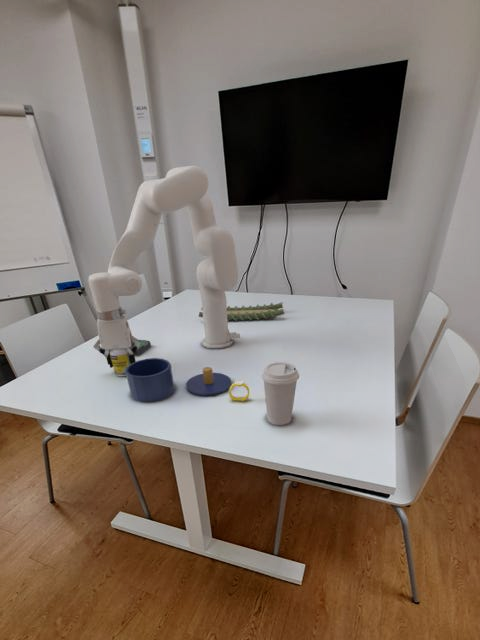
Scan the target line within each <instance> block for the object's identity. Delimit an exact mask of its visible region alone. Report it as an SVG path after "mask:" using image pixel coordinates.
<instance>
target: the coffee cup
mask: <svg viewBox="0 0 480 640" xmlns="http://www.w3.org/2000/svg"><path fill="white" fill-rule="evenodd" d="M260 377H261V379H262V381H263V389H264V397H265V408H266V417H267V418H266V419H267V422H269V423H270V424H272V425H274V426H285V425H288V424H289V423H290V422H291V421H292V417H293V410H294V402H295V395H296V390H297V381H298V380H299V379H300V374H299V371H298V370H297V367H296V365H294V364H292V363H290V362H285V361H278V362H277V361H275V362H271V363H269V364H267V365H266V366H265V367H264V369H263V370H262V373H261V375H260Z"/></svg>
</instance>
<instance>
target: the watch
mask: <svg viewBox="0 0 480 640" xmlns="http://www.w3.org/2000/svg"><path fill="white" fill-rule="evenodd" d="M233 387H237V388H240V387H243V388H245V389H246V391H247V394H246V396H244V397H235V396H234V395H233V394H232V391H231V390H232V388H233ZM228 395H229V397H230V399H232V400H233V401H238V402H244V401H247V399H248V398H249V396H250V387H249V386H248V385H247V384H246V383H245V382H244V380H242V379H241V380H239V379H238V380H234V383H231V386H230V387H229V388H228Z"/></svg>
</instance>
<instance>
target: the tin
mask: <svg viewBox="0 0 480 640" xmlns="http://www.w3.org/2000/svg"><path fill="white" fill-rule="evenodd" d="M125 372H126V376H125V377H126V380H127V384H128V389H129V393H130V396H131V398H132V399H134V400H135V401H137V402H141V403H153V402H160V401H162V400H165V399H167V398H169V397H170V396H171V395H173V393H174V392H175V381H174V375H173V370H172V364H171V362H170V361H169V360H167V359H164V358H158V357H153V358H144V359H140V360H136V362H134V363H131V364H130V365H129V366H127V368H126V370H125Z"/></svg>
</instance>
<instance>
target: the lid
mask: <svg viewBox="0 0 480 640" xmlns="http://www.w3.org/2000/svg"><path fill="white" fill-rule="evenodd" d="M231 385H232V379H231V378H230V377H229V376H228V375H226V374H224V373H222V372H213V368H212V367H211V366H205V367H203V368H202V373H200V374H196V375H194V376H192V377H190V378H189V379H188V380H187V381H186V384H185V386H186V387H185V388H186V389H187V390H188V391H189V392H190V393H191V394H194V395H200V396H212V395H217V394H221V393H223V392H225V391H227V390H229V388H230V386H231Z"/></svg>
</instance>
